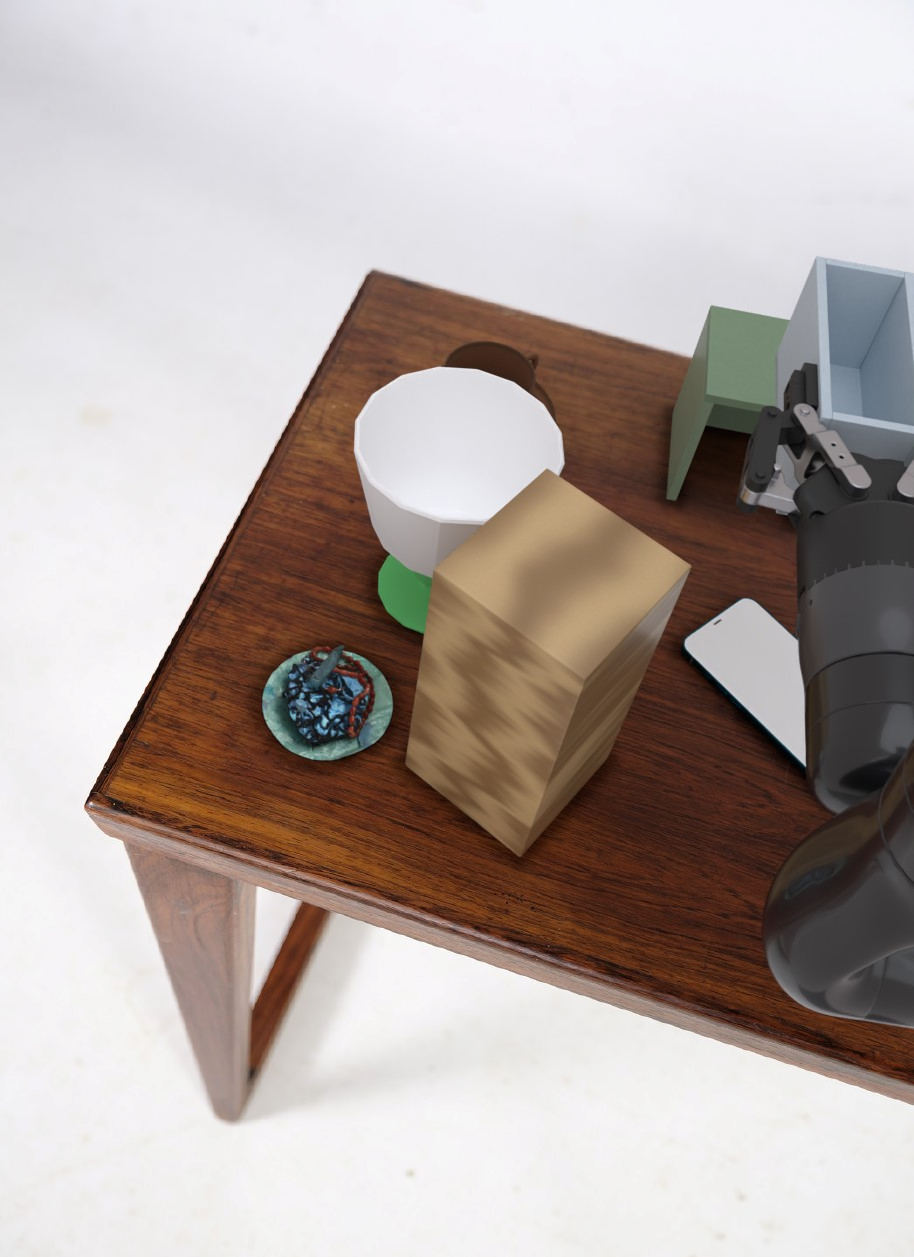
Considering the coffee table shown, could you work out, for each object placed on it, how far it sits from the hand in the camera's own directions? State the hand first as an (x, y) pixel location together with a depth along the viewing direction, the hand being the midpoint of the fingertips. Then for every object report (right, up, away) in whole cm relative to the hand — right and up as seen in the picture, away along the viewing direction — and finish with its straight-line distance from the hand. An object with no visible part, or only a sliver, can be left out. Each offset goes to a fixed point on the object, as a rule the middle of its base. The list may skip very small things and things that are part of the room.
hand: (862, 385), depth 68 cm
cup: (-25, -11, +21) cm, 34 cm away
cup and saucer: (-21, +3, +31) cm, 38 cm away
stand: (-20, -23, +13) cm, 33 cm away
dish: (-32, -19, +15) cm, 40 cm away
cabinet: (0, 0, +31) cm, 31 cm away
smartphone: (+1, -19, +19) cm, 27 cm away
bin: (0, -2, +7) cm, 7 cm away
